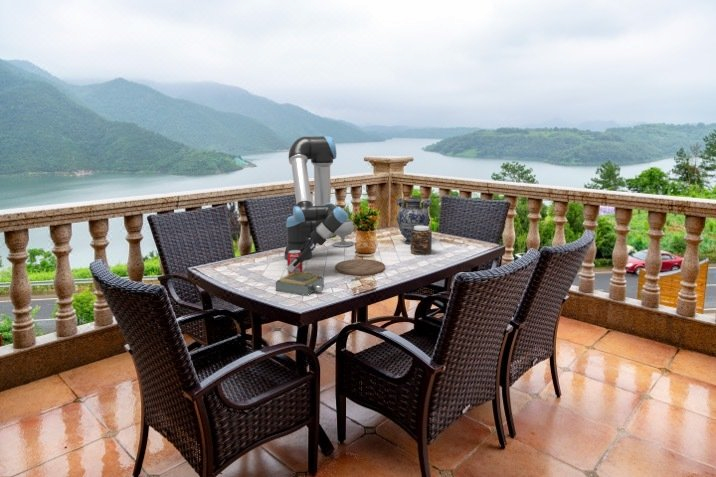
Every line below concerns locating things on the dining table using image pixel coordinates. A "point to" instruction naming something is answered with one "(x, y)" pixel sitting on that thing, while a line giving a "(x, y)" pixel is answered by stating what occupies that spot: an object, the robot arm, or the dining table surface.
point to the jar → (421, 240)
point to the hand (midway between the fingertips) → (289, 266)
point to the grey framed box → (300, 283)
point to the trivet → (359, 267)
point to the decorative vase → (412, 215)
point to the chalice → (344, 233)
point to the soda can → (291, 258)
